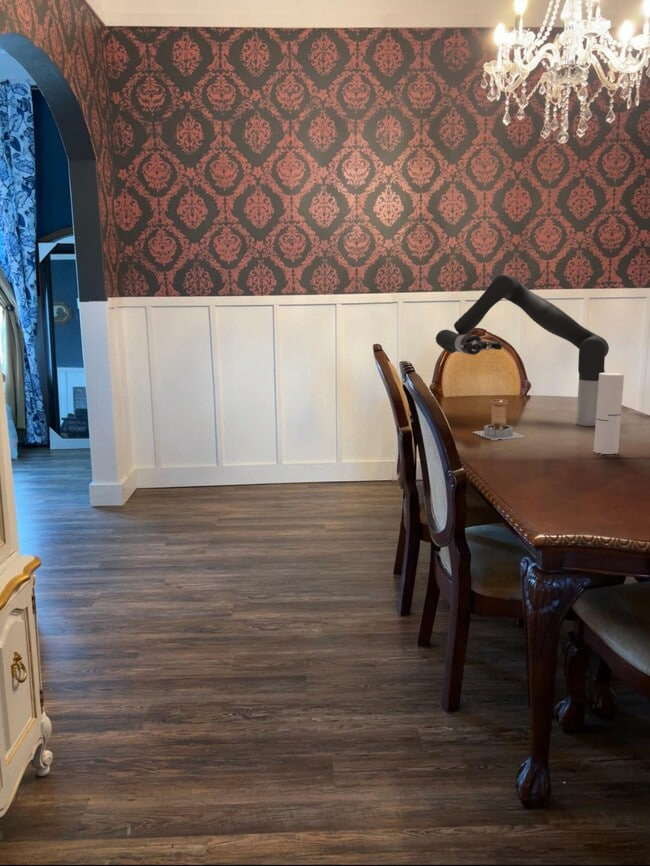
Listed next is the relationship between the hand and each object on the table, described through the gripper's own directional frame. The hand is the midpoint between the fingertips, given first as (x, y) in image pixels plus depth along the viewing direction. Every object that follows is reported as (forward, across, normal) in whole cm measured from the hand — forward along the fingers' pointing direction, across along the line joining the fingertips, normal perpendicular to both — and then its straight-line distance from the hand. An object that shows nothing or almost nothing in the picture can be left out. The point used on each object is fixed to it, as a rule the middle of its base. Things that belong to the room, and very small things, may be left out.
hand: (490, 347), depth 257 cm
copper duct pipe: (+15, -5, +29) cm, 33 cm away
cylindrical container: (+50, +12, +30) cm, 60 cm away
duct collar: (+15, -5, +30) cm, 34 cm away
